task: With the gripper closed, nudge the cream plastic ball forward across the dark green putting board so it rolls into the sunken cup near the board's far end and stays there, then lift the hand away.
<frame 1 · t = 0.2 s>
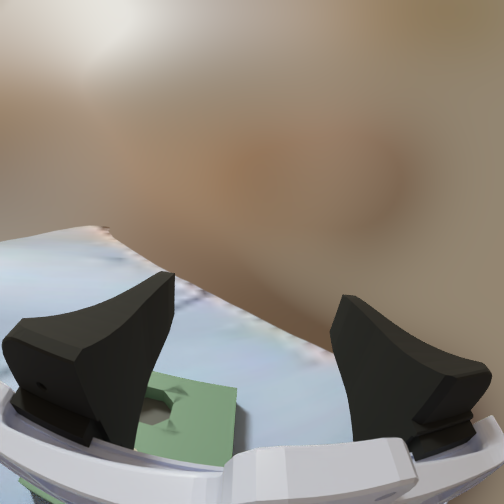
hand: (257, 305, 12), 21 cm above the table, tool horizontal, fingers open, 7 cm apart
putting board: (138, 452, 20), on the table
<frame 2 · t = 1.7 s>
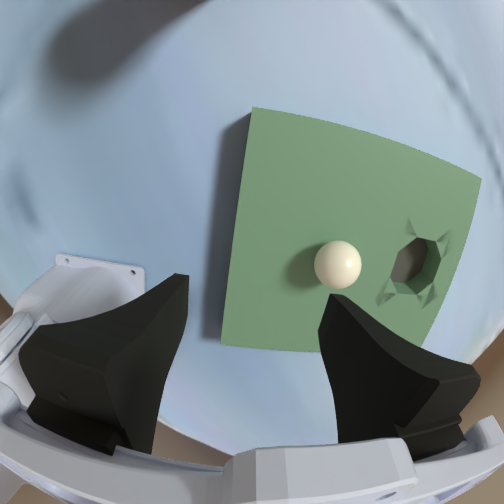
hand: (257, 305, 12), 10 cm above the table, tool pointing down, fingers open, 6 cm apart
putting board: (356, 248, 22), on the table
ball: (337, 264, 18), point 4 cm above the table, touching putting board
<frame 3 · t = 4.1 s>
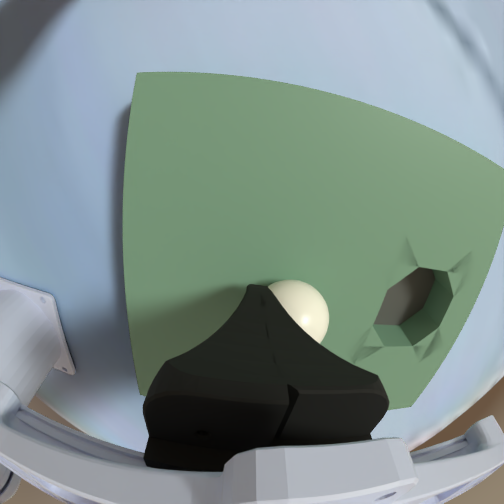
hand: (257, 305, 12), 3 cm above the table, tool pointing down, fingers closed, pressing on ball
putting board: (324, 280, 15), on the table
ball: (289, 318, 11), point 4 cm above the table, tilted 20°, touching gripper, putting board
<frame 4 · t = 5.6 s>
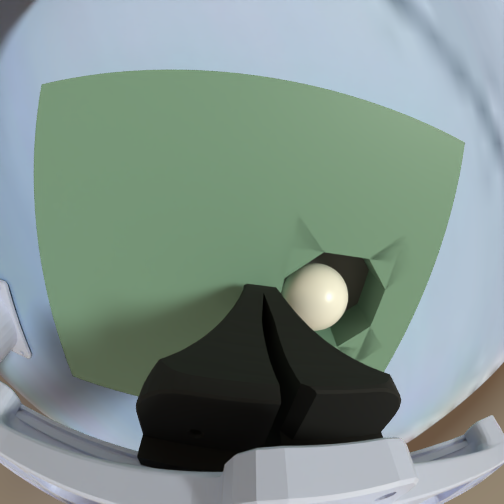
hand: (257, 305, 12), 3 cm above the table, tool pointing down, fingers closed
putting board: (227, 267, 14), on the table
ball: (314, 297, 13), point 2 cm above the table, tilted 124°, touching putting board
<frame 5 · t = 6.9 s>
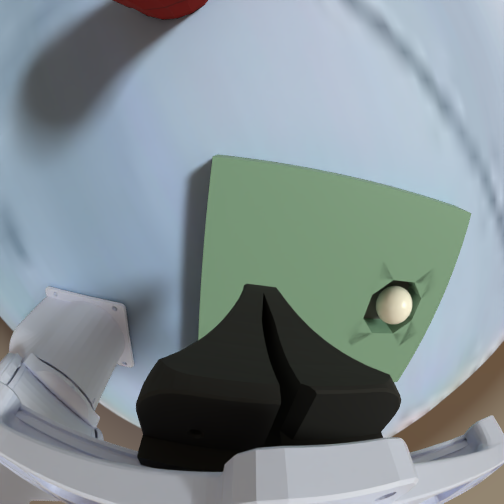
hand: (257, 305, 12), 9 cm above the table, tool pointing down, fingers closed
putting board: (330, 288, 22), on the table
ball: (394, 305, 20), point 2 cm above the table, tilted 84°, touching putting board
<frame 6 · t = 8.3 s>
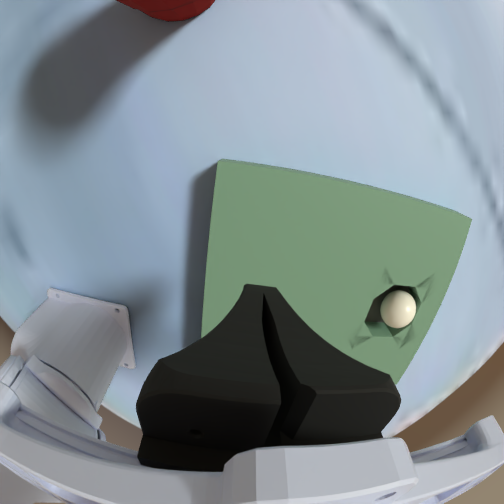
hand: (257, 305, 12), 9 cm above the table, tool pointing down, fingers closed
putting board: (332, 292, 22), on the table
ball: (398, 309, 21), point 2 cm above the table, tilted 70°, touching putting board
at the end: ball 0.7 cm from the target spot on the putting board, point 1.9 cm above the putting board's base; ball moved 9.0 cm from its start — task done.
